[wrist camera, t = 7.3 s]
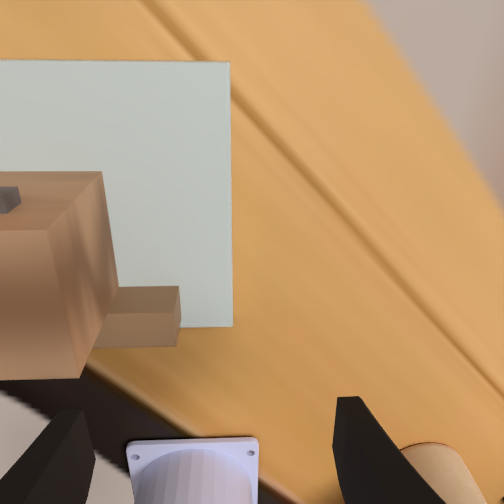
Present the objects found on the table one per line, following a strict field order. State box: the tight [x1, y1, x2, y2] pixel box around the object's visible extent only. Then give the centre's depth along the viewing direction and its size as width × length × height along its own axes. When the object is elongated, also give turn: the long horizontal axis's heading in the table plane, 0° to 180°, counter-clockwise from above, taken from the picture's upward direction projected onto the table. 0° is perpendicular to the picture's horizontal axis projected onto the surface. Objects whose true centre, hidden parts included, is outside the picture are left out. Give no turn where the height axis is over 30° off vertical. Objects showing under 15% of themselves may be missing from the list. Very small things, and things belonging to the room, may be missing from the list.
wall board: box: [0, 59, 233, 348], centre depth 18 cm, size 12×14×3 cm
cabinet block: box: [0, 171, 119, 380], centre depth 16 cm, size 6×4×6 cm
